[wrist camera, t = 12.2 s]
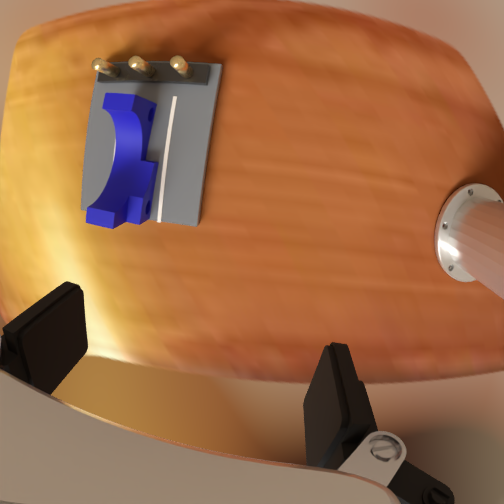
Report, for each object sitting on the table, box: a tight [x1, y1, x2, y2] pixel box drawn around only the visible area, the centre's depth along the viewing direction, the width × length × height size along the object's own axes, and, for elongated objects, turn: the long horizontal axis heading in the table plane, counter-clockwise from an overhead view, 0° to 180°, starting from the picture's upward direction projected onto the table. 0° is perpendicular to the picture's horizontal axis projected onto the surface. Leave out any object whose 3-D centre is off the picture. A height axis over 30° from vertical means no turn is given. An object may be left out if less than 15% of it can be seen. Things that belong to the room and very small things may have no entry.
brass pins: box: [92, 56, 211, 86], centre depth 25 cm, size 12×2×5 cm, turn 81°
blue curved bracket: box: [86, 93, 159, 229], centre depth 27 cm, size 12×4×6 cm, turn 167°
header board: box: [81, 61, 223, 227], centre depth 30 cm, size 14×17×1 cm
